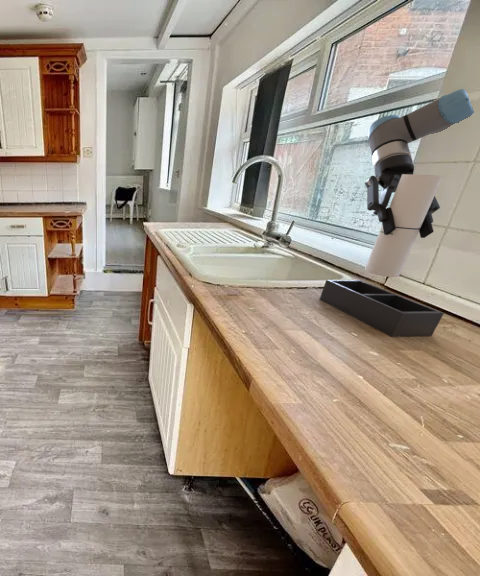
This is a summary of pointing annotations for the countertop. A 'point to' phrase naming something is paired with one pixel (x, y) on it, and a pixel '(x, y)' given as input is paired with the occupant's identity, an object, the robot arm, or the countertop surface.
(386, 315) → the divided tray
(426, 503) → the countertop surface
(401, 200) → the cylindrical container
